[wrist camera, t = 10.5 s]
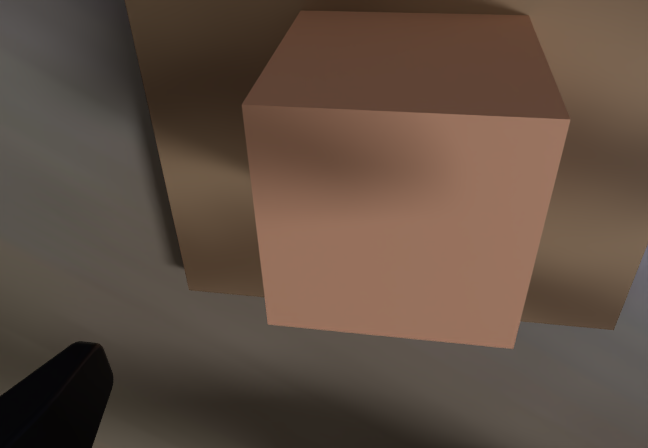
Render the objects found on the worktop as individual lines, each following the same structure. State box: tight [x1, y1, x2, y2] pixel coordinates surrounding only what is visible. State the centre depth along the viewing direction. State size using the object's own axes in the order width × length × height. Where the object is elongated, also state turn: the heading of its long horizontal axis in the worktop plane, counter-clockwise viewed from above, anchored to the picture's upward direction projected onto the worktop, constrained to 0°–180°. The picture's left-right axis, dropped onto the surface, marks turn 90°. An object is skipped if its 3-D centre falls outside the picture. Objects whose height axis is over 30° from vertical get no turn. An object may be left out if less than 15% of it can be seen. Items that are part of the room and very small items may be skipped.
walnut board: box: [125, 0, 648, 330], centre depth 18 cm, size 16×16×1 cm
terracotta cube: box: [242, 11, 571, 349], centre depth 15 cm, size 6×6×6 cm
